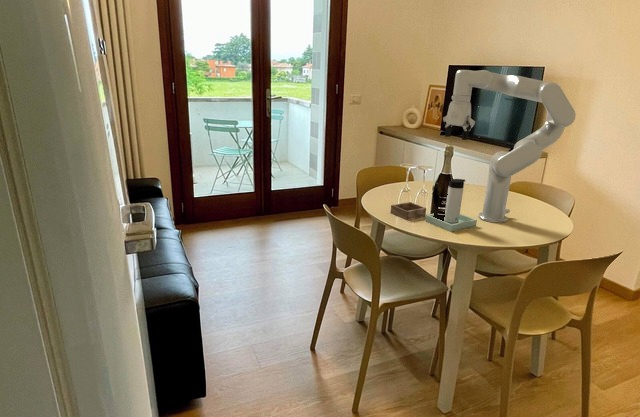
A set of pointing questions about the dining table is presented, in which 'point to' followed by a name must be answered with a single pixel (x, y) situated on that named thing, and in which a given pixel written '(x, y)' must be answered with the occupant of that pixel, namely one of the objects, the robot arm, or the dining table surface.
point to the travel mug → (454, 201)
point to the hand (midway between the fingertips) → (456, 138)
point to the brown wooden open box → (408, 210)
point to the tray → (462, 224)
